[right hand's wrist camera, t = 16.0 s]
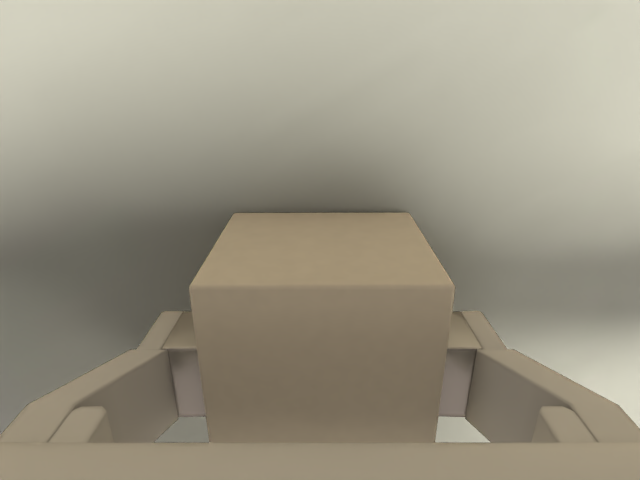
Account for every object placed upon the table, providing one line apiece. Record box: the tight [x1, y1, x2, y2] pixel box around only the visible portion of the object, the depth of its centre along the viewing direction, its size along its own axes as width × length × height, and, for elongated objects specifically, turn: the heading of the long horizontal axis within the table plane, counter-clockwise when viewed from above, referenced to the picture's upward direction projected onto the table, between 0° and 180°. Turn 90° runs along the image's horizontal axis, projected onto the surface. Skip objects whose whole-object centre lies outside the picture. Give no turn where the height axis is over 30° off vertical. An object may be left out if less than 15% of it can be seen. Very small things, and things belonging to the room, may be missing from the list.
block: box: [189, 213, 455, 443], centre depth 10 cm, size 5×5×4 cm
